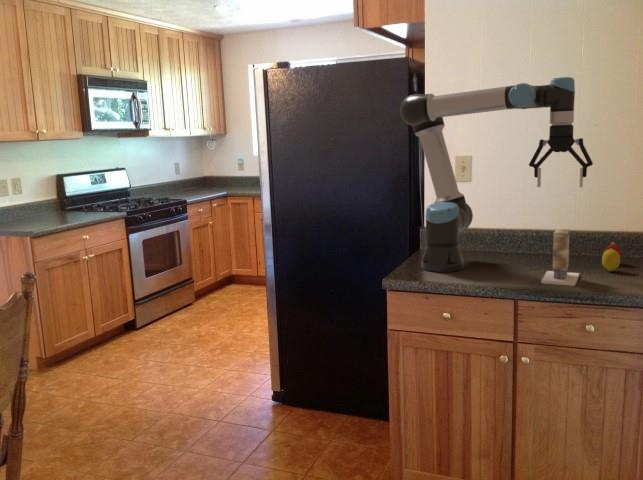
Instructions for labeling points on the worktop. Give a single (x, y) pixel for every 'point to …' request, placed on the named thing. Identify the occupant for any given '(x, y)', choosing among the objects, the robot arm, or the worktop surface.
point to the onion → (614, 248)
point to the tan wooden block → (560, 249)
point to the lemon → (611, 259)
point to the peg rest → (560, 278)
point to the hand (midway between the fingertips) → (559, 187)
